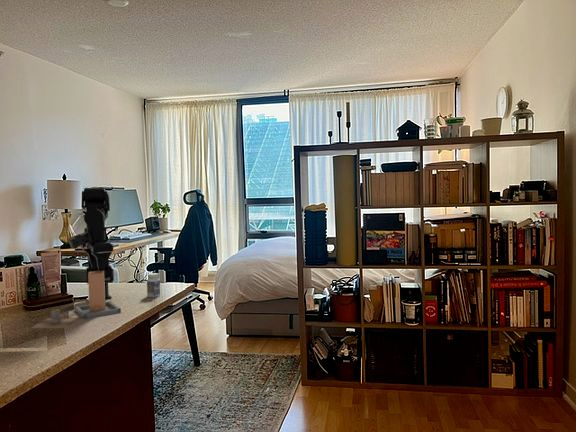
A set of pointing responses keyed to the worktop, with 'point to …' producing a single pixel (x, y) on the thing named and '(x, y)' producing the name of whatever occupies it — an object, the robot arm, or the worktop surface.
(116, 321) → the worktop surface
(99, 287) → the tan rectangular prism
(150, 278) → the pill bottle
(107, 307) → the tray
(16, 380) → the worktop surface
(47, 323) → the peg on square base
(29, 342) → the worktop surface
